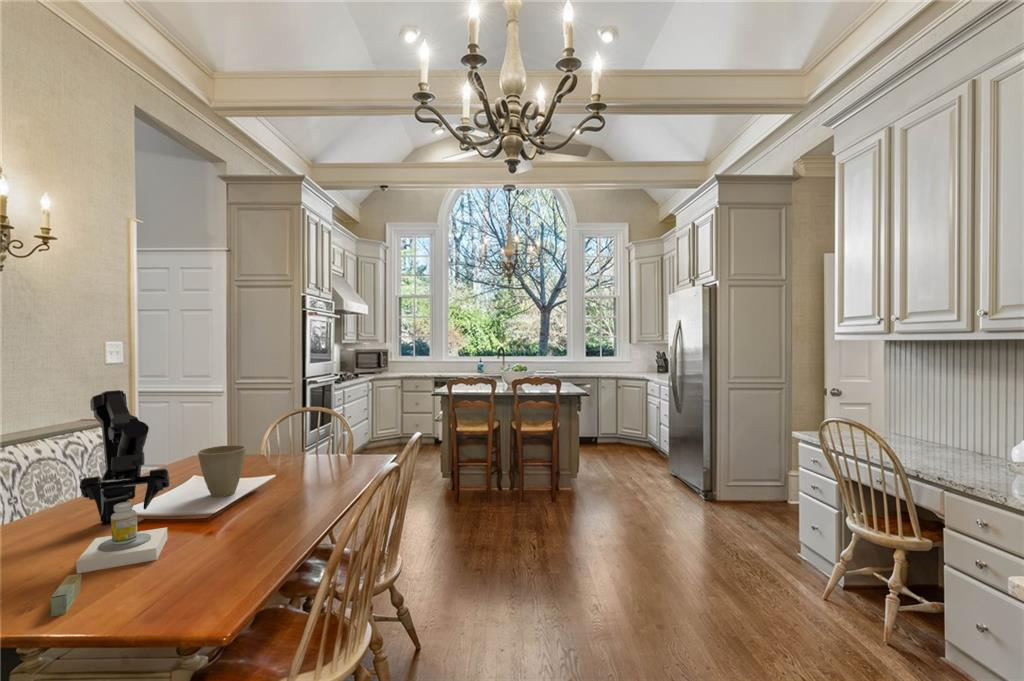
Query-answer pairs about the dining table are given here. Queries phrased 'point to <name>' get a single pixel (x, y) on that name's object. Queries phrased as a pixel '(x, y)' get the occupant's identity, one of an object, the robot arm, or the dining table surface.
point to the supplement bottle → (124, 523)
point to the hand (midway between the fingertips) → (122, 511)
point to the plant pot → (222, 468)
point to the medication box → (65, 595)
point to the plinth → (122, 551)
